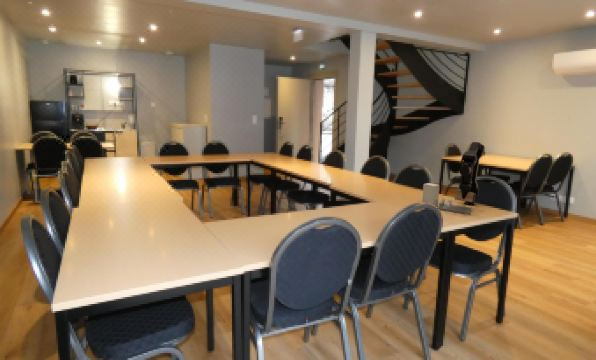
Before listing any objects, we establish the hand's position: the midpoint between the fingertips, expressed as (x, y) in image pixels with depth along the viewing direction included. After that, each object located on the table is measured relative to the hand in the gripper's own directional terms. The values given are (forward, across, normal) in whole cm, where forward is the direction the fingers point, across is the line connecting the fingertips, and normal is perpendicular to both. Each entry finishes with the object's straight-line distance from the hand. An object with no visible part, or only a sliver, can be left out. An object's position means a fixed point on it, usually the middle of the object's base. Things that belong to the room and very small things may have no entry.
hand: (463, 198), depth 228 cm
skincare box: (+8, +4, -19) cm, 21 cm away
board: (+8, 0, -4) cm, 9 cm away
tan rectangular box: (+1, 0, 0) cm, 1 cm away
